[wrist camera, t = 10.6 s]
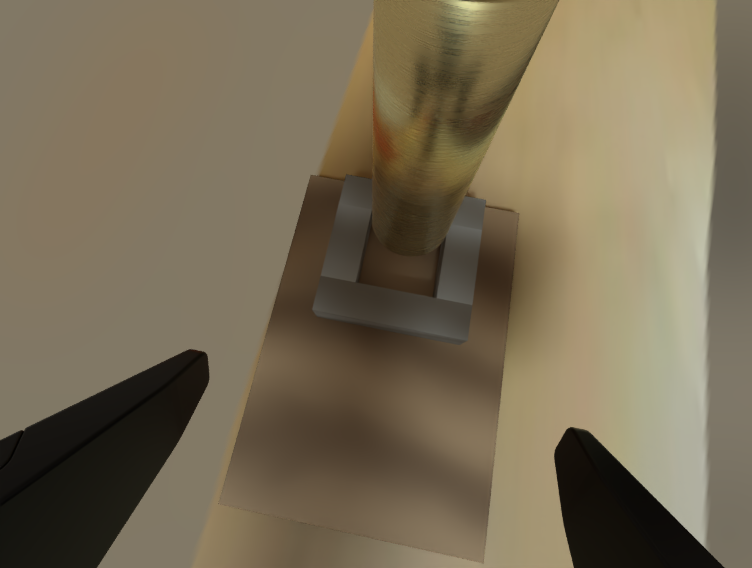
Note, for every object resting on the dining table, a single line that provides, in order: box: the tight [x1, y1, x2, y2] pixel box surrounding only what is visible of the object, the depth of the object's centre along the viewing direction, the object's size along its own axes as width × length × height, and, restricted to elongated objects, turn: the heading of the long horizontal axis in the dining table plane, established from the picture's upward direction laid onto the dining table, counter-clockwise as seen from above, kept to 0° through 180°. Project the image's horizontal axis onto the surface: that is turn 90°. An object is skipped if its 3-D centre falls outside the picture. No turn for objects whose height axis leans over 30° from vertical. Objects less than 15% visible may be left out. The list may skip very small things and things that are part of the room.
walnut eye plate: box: [218, 174, 519, 563], centre depth 22 cm, size 20×14×3 cm
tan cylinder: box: [372, 0, 559, 256], centre depth 11 cm, size 4×4×13 cm
